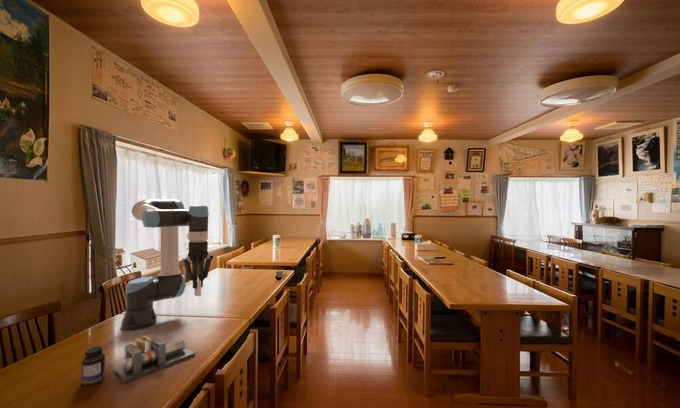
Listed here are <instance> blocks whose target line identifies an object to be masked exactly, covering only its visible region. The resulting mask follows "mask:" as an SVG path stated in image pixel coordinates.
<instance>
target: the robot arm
mask: <svg viewBox="0 0 680 408" xmlns="http://www.w3.org/2000/svg"><path fill="white" fill-rule="evenodd" d="M183 203H184V202H182V201H181V200H179V199H170V198H169V199H165V198H164V199H163V198H162V199H159V198H158V199H154V198H152V199H151V198H149V199H144V200H140V201H138V202H136V203H135V204H134V205H133V207H132V209H131V213H132V214H131V215H133V217H134V218H135V219H136V220H138V221H141V222H142V224H143V227H144V228H160V229H159V230H160V232H159V233H160V271H159V272H158V273H157V278H154V276H151V275H149V276H142V277H138V278H134V279H132V280H130V281H128V283H126V286H125V311H124V312H125V313H124V315H123V318H122V320H121V324H120V328H121V329H122V330H124V331H135V330H136V331H137V330H142V329H145V328H149V327H152V326H153V325H155V324H156V323H157V321H158V317H157V314H156V312H155V309H154V303H155V302H160V301H163V300H164V301H165V300H167V299H169V300H170V299H175V298H179V297H181V296H182V295H184V293H185V289H186V284H187V283H186V282H187V281H186V277H187V280H189V281H191V282H192V288H193V290H194V291H193V294H194V296H195V297H201V296H202V288H203V287H204V280H205V279H206V278H208V276H209V271H210V267H211V263H212V260H213V258H214V255H212V254H210V253H209V251H208V248H209V242H208V241H207V240H209V239H208V238H209V207H208V205H200V204H199V205H189V208H186V209H185V205H184V204H183ZM179 227H188V253H187V255H186V257H185V258H182V259H181V261H182V263H183V264H184V269H185V272H186V275H185V274H183V272H182V271H181V270H180V269H179V268H180V267H179V254H180V253H179ZM190 262H191V263H190ZM191 266H192V267H191Z"/></svg>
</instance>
